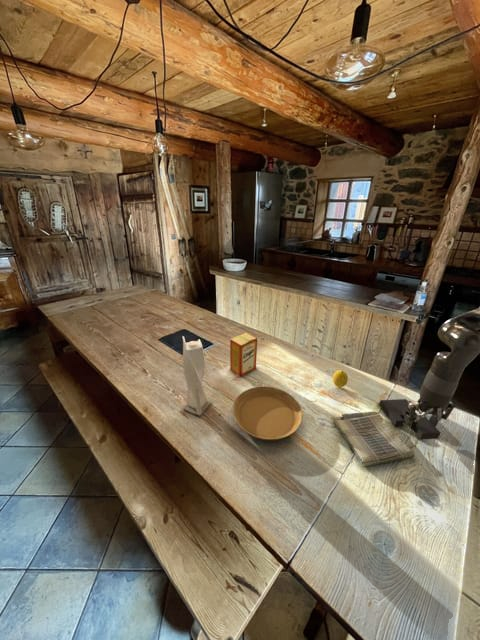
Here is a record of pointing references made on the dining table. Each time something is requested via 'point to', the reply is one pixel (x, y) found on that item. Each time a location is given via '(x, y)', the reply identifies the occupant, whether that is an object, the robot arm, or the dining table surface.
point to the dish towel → (372, 438)
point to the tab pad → (424, 428)
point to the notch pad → (394, 410)
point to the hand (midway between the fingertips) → (420, 427)
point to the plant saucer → (267, 413)
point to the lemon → (340, 378)
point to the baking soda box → (243, 354)
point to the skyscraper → (194, 376)
